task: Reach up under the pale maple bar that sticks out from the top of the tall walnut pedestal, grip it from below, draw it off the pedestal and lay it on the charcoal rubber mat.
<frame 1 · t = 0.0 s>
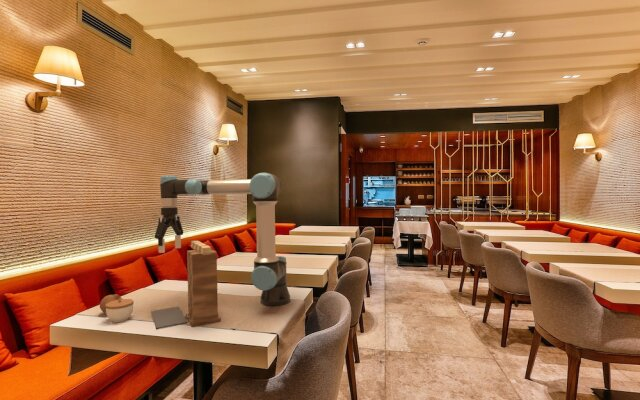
hand: (170, 250, 164), 28 cm above the table, tool pointing down, fingers open, 13 cm apart
rubber mat: (168, 317, 150), on the table
maple bar: (200, 250, 150), point 30 cm above the table, touching walnut pedestal
lidded jar: (120, 320, 148), on the table
onion: (112, 313, 156), on the table
walnut pedestal: (203, 319, 147), on the table
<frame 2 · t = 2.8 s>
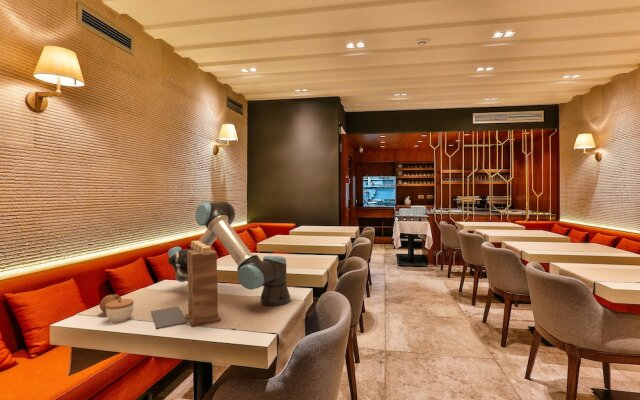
hand: (192, 252, 165), 26 cm above the table, tool pointing upward, fingers open, 13 cm apart
nothing on the table moved.
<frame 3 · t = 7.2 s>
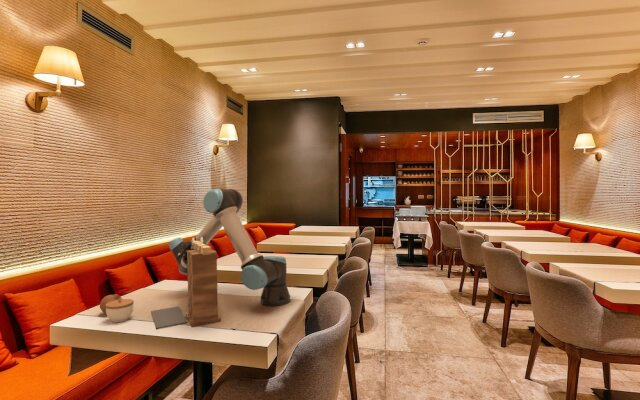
hand: (197, 240, 153), 34 cm above the table, tool pointing upward, fingers closed on maple bar, 3 cm apart
maple bar: (200, 250, 150), point 30 cm above the table, touching gripper, walnut pedestal
everything else where it was.
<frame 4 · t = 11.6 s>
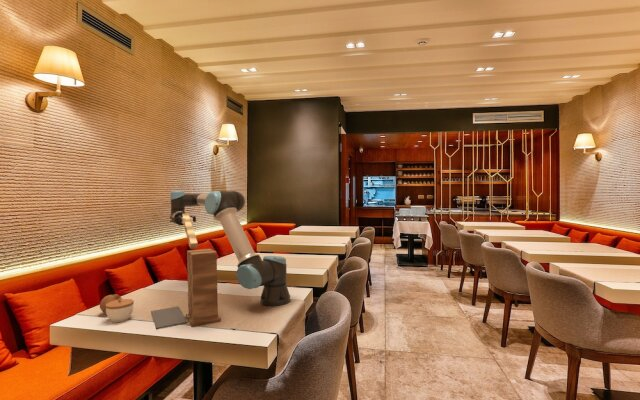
hand: (188, 220, 167), 42 cm above the table, tool horizontal, fingers closed on maple bar, 3 cm apart
maple bar: (189, 232, 166), point 36 cm above the table, tilted 30°, touching gripper
everything else where it was.
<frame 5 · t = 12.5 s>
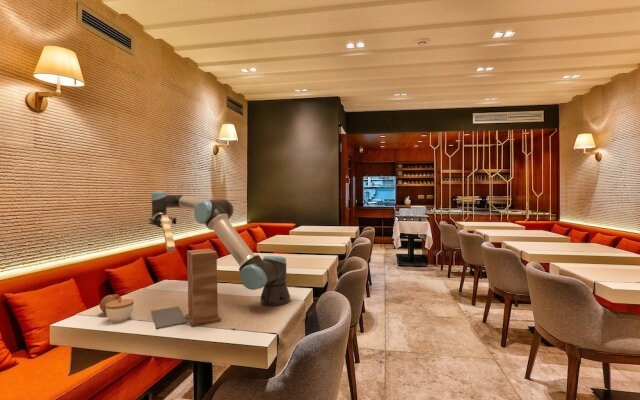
hand: (166, 222, 160), 42 cm above the table, tool horizontal, fingers closed on maple bar, 3 cm apart
maple bar: (167, 235, 159), point 36 cm above the table, tilted 30°, touching gripper
everything else where it was.
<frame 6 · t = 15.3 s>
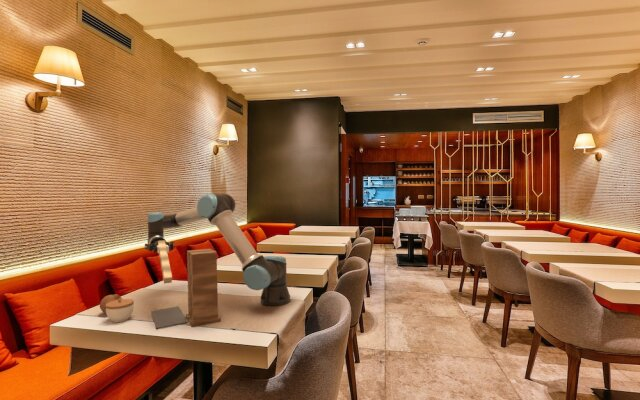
hand: (163, 249, 152), 30 cm above the table, tool horizontal, fingers closed on maple bar, 3 cm apart
maple bar: (164, 263, 150), point 24 cm above the table, tilted 30°, touching gripper
everything else where it was.
when the fingers open (14 cm above the table, at t = 17.9 s): maple bar drops 8 cm, resting on rubber mat.
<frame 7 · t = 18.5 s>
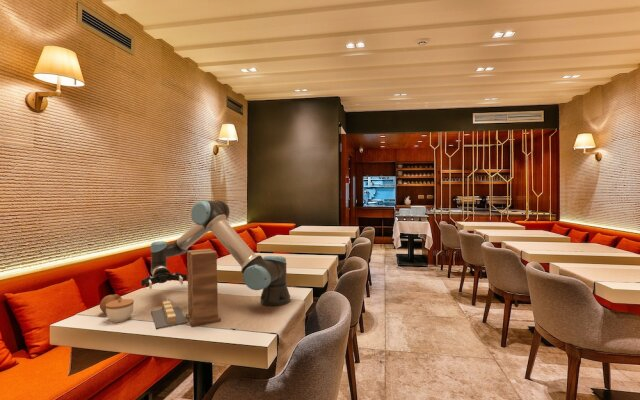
hand: (166, 283, 153), 14 cm above the table, tool horizontal, fingers open, 12 cm apart
maple bar: (168, 314, 152), point 1 cm above the table, touching rubber mat
everything else where it was.
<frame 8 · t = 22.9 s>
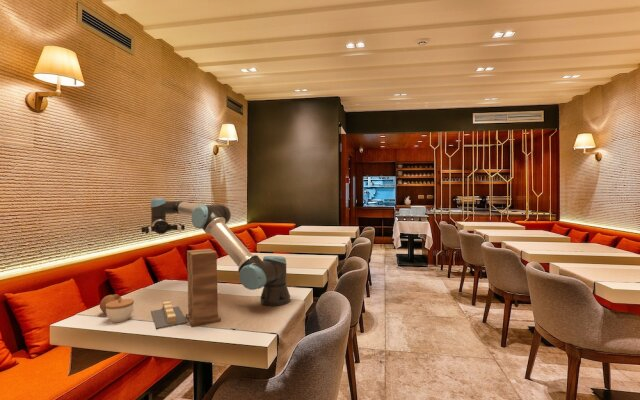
hand: (165, 229, 165), 38 cm above the table, tool horizontal, fingers open, 13 cm apart
nothing on the table moved.
at the end: the gripper is holding nothing; maple bar 2.3 cm from the rubber mat (horizontally); maple bar point 0.6 cm above the table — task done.
